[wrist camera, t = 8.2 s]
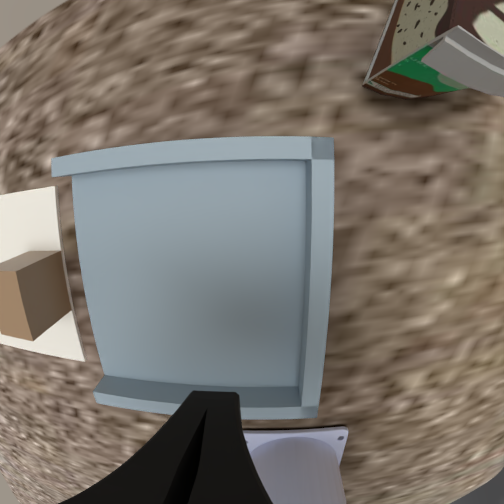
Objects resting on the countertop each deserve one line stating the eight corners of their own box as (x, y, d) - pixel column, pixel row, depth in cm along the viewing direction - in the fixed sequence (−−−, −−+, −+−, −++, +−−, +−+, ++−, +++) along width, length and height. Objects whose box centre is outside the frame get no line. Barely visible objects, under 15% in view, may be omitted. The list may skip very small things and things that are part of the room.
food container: (442, 161, 15) (576, 166, 5) (352, 108, 15) (454, 40, 5) (478, 19, 12) (565, -29, 2) (405, -30, 12) (470, -110, 2)
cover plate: (89, 356, 20) (54, 398, 14) (3, 338, 20) (-33, 367, 15) (62, 185, 17) (6, 192, 12) (-24, 200, 17) (-72, 210, 12)
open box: (311, 392, 19) (316, 417, 16) (110, 382, 19) (96, 402, 17) (323, 142, 15) (333, 137, 13) (75, 158, 16) (51, 158, 13)
